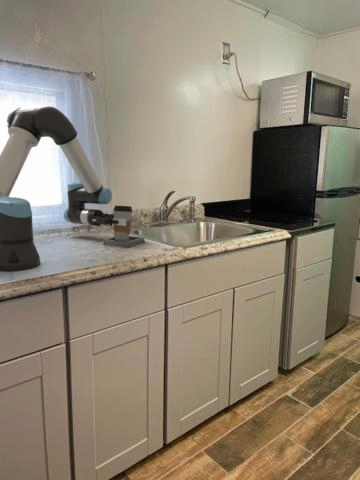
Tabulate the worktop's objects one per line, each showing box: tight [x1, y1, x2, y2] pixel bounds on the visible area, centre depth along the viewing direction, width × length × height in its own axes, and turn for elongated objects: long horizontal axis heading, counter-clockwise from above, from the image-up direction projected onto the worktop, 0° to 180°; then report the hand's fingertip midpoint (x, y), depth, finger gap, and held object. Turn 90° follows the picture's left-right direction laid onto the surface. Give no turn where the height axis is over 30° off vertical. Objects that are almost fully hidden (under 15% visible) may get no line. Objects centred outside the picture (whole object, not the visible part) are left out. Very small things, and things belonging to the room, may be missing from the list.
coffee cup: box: [113, 205, 133, 241], centre depth 164 cm, size 8×8×15 cm
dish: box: [103, 235, 146, 249], centre depth 166 cm, size 13×13×2 cm
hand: (132, 221), depth 162 cm, fingers open, 9 cm apart
